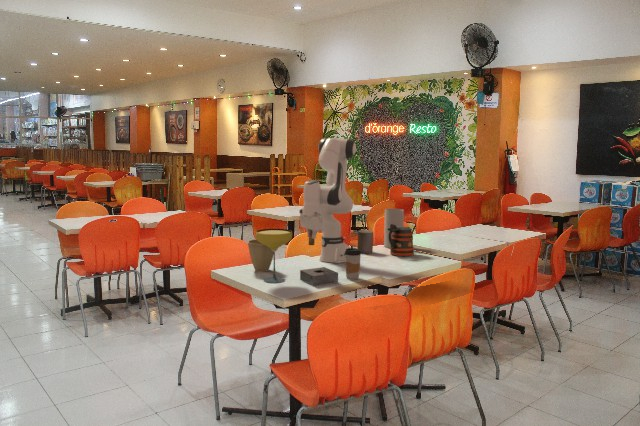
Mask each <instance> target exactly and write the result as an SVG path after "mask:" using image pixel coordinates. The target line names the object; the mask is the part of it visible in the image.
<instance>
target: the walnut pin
mask: <svg viewBox="0 0 640 426" xmlns="http://www.w3.org/2000/svg"><path fill="white" fill-rule="evenodd" d="M312 234H313V232H312V230H310V229H309V237H308V246H314V245H315V239H312Z"/></svg>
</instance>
